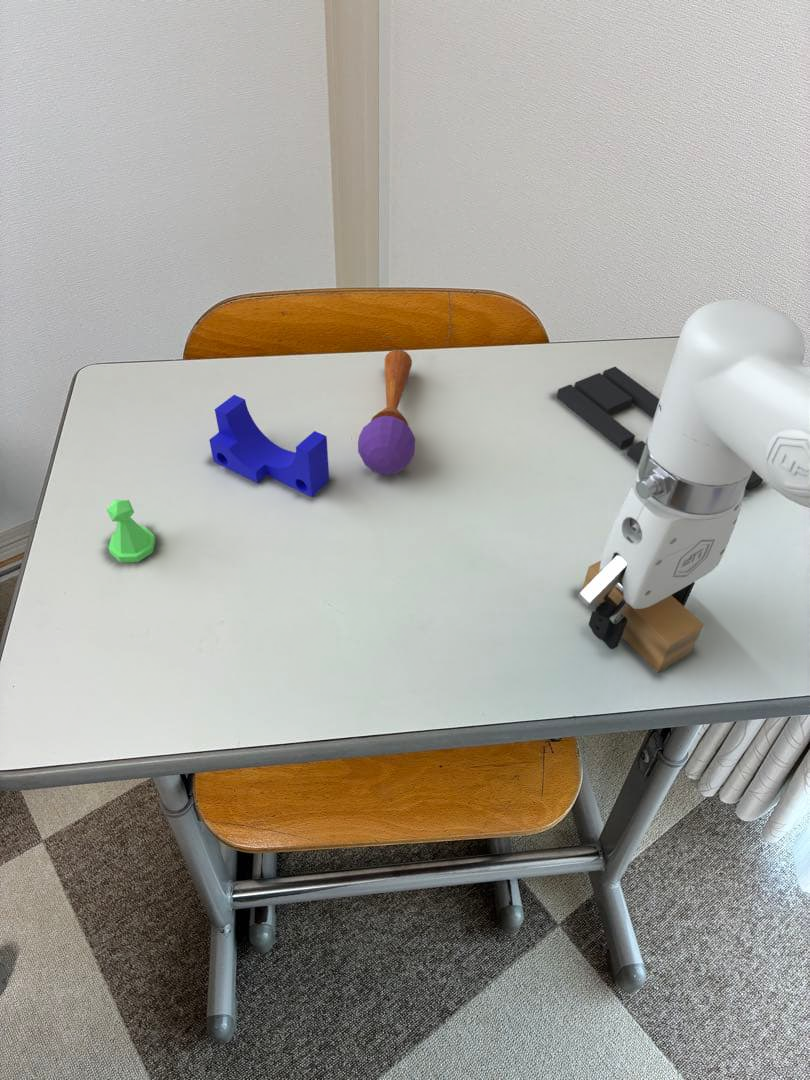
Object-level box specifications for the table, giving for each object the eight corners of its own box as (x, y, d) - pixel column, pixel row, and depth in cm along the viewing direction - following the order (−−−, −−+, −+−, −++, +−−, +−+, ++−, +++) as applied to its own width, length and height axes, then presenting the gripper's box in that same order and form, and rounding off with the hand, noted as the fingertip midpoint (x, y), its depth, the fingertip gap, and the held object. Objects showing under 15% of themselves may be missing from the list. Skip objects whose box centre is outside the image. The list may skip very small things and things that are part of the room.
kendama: (428, 345, 94) (419, 445, 79) (416, 388, 98) (406, 490, 83) (378, 334, 93) (360, 432, 78) (369, 377, 97) (350, 478, 82)
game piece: (161, 554, 76) (147, 510, 71) (115, 569, 74) (98, 524, 70) (150, 525, 78) (136, 480, 74) (105, 538, 77) (89, 493, 73)
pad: (678, 423, 91) (681, 414, 90) (620, 449, 88) (622, 441, 87) (613, 374, 98) (615, 366, 97) (556, 397, 94) (558, 388, 93)
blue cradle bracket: (213, 461, 85) (204, 416, 81) (241, 439, 88) (234, 394, 83) (302, 505, 81) (298, 461, 76) (329, 480, 83) (326, 436, 79)
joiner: (690, 652, 69) (704, 625, 67) (657, 672, 68) (670, 645, 65) (612, 577, 75) (621, 549, 72) (580, 594, 74) (588, 566, 71)
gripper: (641, 547, 53) (589, 693, 66) (812, 458, 59) (734, 606, 72) (567, 481, 57) (532, 630, 70) (735, 405, 63) (674, 554, 76)
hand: (635, 617), depth 71 cm, fingers open, 7 cm apart
